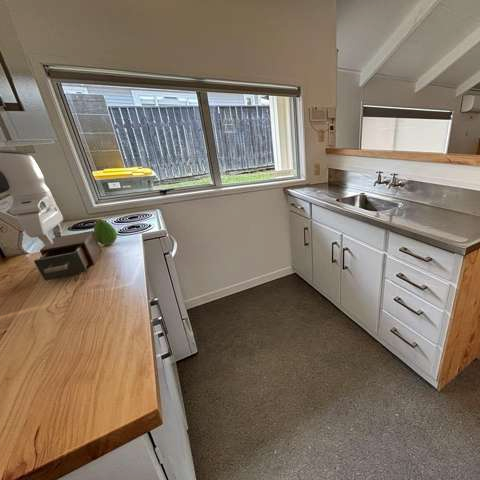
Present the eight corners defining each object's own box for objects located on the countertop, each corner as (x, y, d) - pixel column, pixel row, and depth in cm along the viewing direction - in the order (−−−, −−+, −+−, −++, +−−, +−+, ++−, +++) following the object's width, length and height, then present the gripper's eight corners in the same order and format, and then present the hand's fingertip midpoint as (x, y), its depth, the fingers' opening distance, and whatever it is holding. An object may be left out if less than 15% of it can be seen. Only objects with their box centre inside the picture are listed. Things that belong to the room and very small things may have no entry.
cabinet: (94, 264, 100) (84, 242, 96) (51, 273, 95) (39, 250, 91) (101, 251, 112) (93, 230, 108) (64, 258, 106) (53, 237, 103)
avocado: (103, 249, 114) (92, 223, 109) (95, 246, 118) (85, 221, 113) (123, 242, 120) (114, 218, 115) (115, 239, 124) (106, 216, 119)
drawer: (83, 277, 89) (73, 257, 86) (39, 287, 84) (27, 267, 81) (94, 257, 104) (87, 239, 101) (57, 265, 99) (48, 246, 96)
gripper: (35, 197, 91) (53, 233, 96) (6, 210, 74) (30, 253, 80) (58, 194, 94) (74, 230, 99) (36, 207, 77) (56, 248, 83)
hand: (54, 240), depth 89 cm, fingers open, 8 cm apart
